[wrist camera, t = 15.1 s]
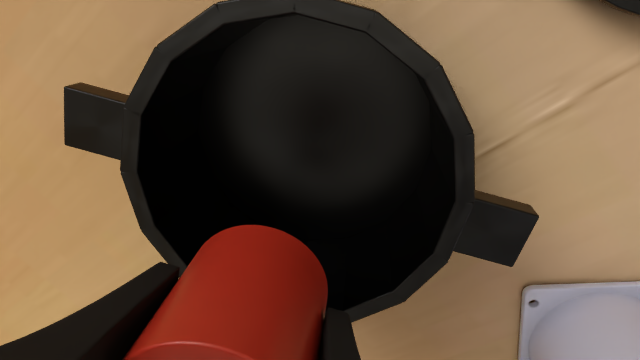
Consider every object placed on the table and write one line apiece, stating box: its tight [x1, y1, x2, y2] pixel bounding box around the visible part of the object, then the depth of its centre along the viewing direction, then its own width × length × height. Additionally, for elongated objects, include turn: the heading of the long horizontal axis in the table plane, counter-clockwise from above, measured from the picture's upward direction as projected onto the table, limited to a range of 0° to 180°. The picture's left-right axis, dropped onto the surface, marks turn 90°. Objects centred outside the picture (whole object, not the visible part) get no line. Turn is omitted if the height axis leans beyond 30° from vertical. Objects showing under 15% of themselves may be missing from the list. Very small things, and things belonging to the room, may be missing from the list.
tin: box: [122, 225, 328, 360], centre depth 11 cm, size 5×5×5 cm
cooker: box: [64, 0, 539, 323], centre depth 18 cm, size 13×18×6 cm
